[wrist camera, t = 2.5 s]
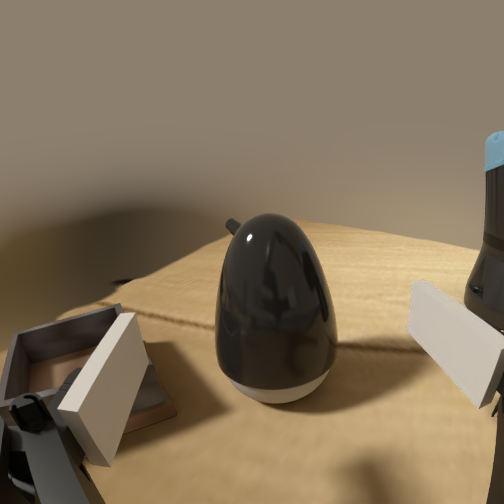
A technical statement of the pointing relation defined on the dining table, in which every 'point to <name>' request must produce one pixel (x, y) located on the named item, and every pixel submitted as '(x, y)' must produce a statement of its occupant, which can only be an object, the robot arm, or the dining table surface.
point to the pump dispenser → (273, 311)
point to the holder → (72, 365)
